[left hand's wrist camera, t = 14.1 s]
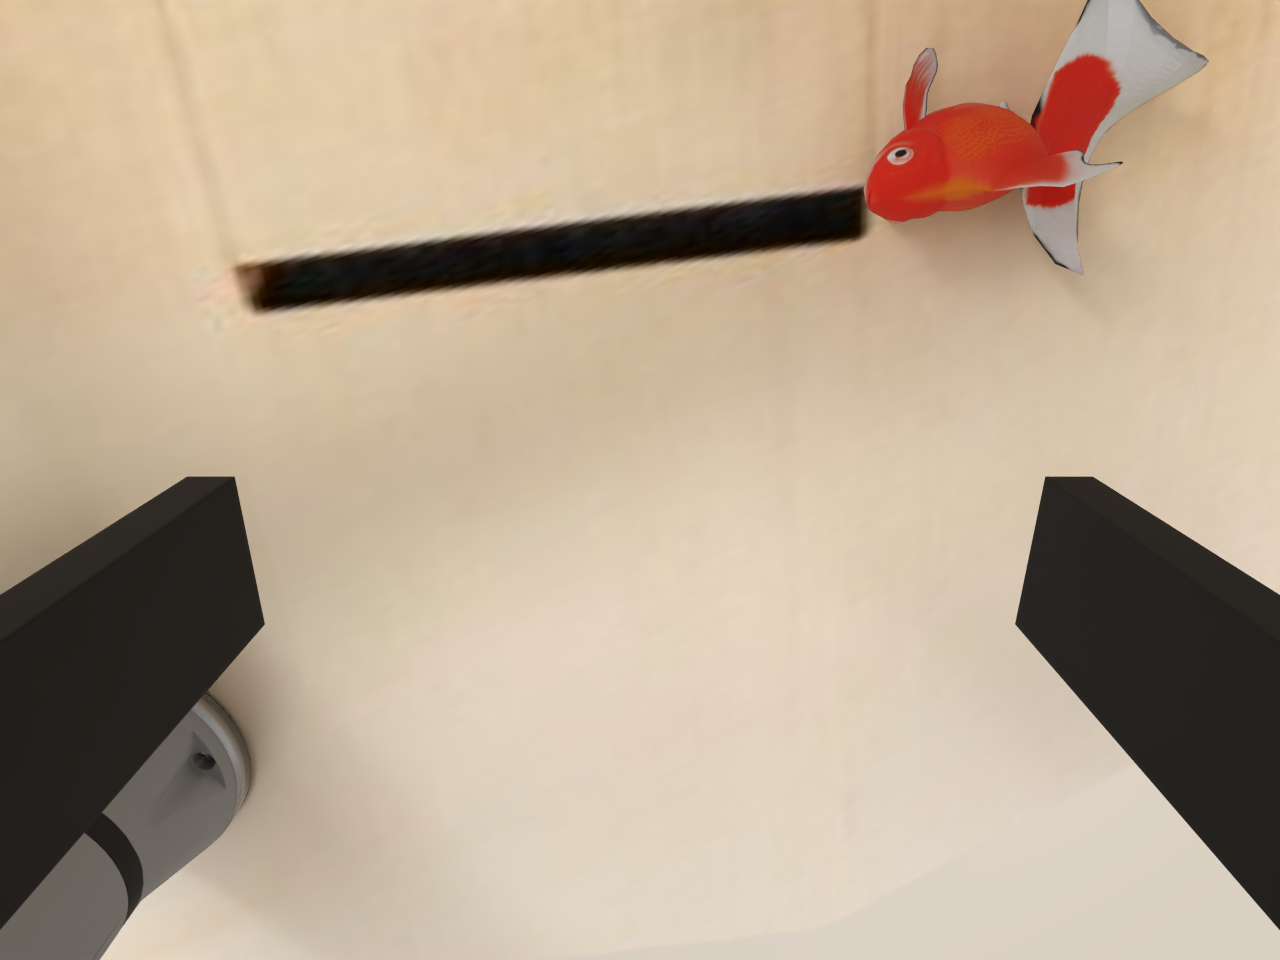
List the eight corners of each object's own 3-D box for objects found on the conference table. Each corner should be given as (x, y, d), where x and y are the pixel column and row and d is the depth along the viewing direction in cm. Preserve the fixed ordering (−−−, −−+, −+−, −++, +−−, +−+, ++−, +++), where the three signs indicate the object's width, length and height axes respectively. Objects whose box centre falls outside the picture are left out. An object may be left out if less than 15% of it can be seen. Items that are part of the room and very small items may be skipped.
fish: (854, -58, 30) (1053, -12, 23) (1118, -30, 36) (1337, 13, 29) (789, 214, 36) (929, 311, 30) (1020, 199, 42) (1179, 277, 36)
